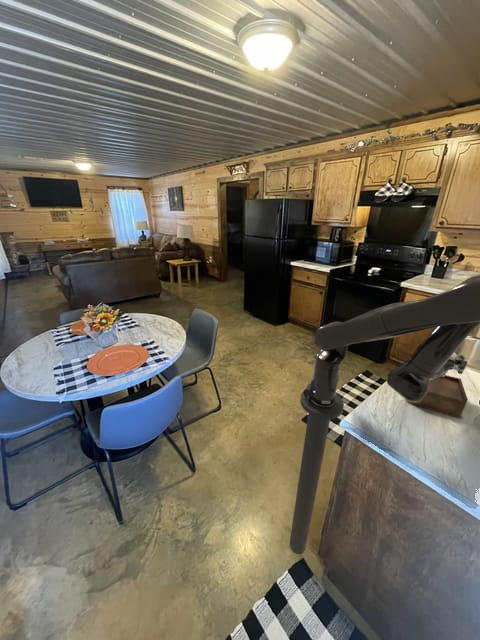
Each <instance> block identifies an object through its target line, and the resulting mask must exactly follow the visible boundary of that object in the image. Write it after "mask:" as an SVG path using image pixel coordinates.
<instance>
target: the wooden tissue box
mask: <svg viewBox="0 0 480 640" xmlns="http://www.w3.org/2000/svg"><path fill="white" fill-rule="evenodd" d="M462 381H463V380H462V378H459V377H455V376H450V375H447V374H445V376H444V377H440V378H439V379H437V380H435V381H433V382H432V383H431V384H430V385H429V390H428V392H427V395H426V396H425V398H424V399H423V400H421V401H420V402H416V403H413V402H409V401H407V403H409V404H411V405H412V404H413V405H416V406H419V407H423V408H424V409H425V408H426V409H429V410H432V411H436V412H439V413H441V414H446V415H449V416H453V417H456V418H458V419H460V418H461V416H462V414H463V412H464V410H465V408H466V406H467V403H468V401H469V399H468V396H467V392H466V390H465V388H464V387H465V386H464V384H463V382H462Z"/></svg>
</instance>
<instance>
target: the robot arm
mask: <svg viewBox="0 0 480 640" xmlns="http://www.w3.org/2000/svg"><path fill="white" fill-rule="evenodd" d="M479 325H480V273H478V274H476V275H473V276H470V277H468V278H467V279H465V280H464V281H462V282H461V283H459V284H458V285H456V286H454V287H451V288H450V289H447V290H445V291H442V292H440V293H437V294H434V295H432V296H428V297H426V298H422V299H419V300H409V301H399V302H394V303H390V304H386V305H383V306H380V307H377V308H374V309H371V310H369V311H366V312H364V313H361V314H359V315H356V316H355V317H353V318H350V319H348V320H346V321H343V322H342V321H333V322H329V323H327V324H323V325H322V326H319V327H318V328H317V329H316V330H315V332H314V334H313V342H314V344H315V346H316V347H317V348H318V349H320V350H319V351H318V352H317V354H316V355H315V361H314V362H315V363H314V367H313V368H314V369H313V376H312V379H311V381H310V382H308V384H307V386H306V387H305V388H304V390H303V391H304V395H305V397H307V396H309V401H311V402H312V403H313V404H314V405H316V406H318V407H321V408H330V407H332V406H333V405H334V402H335V396H336V393H337V391H338V385H339V379H340V375H341V370H342V369H341V368H342V364H343V362H344V361H345V359H346V357H347V351H348V348H349V346H350V345H353V344H361V343H368V342H369V343H370V342H376V341H381V340H388V339H392V338H398V337H402V336H406V335H411V334H414V333H418V332H421V331H425V330H429V329H432V328H434V329H433V330H432V331H431V333H429V334H428V335H427V337H426V338H424V340H422V342H421V343H420V344H419V345H418V347H417V348H416V349H415V350H414V351H413V353H412V354H411V355H410V357H409V358H408V359H407V360H406V361H405V362H404V363H401V365H399V366H397V367H396V368H394V369H393V370H390V372H389V373H387V375H386V384H387V385H388V387H390V388H391V389H392V390H393V391H395V392H396V393H397V394H398V395H400V396H401V397H402V398H403V399H404V400H405V401H407V402H408V401H409V402H413V403H416V402H420V401H421V400H423V399H424V398H425V396H426V395H427V392H428V390H429V385H430V384H431V383H432V382H433V381H435V380H437V379H439V378H440V377H442V376H443V375H444V374H445V373H446V374H447V373H448V372H447V371H453V370H455V371H457V374H459V375H463V374H464V371H465V370H466V367H467V365H468V363H469V362H468V361H467V360H465V356H464V355H463V354H460V355H458V356H457V357H458V358H454V357H451V356H452V355H453V353H454V352H455V353H456V351H457V350H458V349H459V347H460V346H461V345H462V343H464V342H465V340H466V339H467V338H468V336H469V335H470V334H471V333H472V332H473V331H474V330H475V329H476V328H477V327H479ZM446 374H445V375H446ZM409 402H408V403H409Z"/></svg>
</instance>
